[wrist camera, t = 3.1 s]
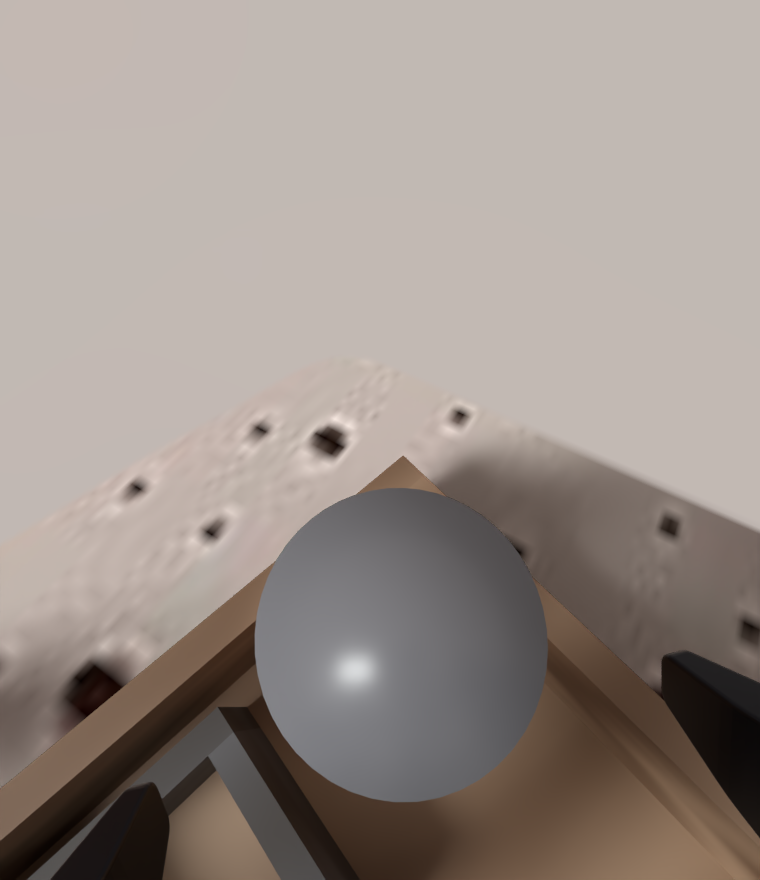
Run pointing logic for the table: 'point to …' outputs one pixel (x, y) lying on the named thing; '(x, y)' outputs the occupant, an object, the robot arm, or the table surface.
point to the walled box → (376, 821)
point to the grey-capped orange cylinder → (401, 645)
